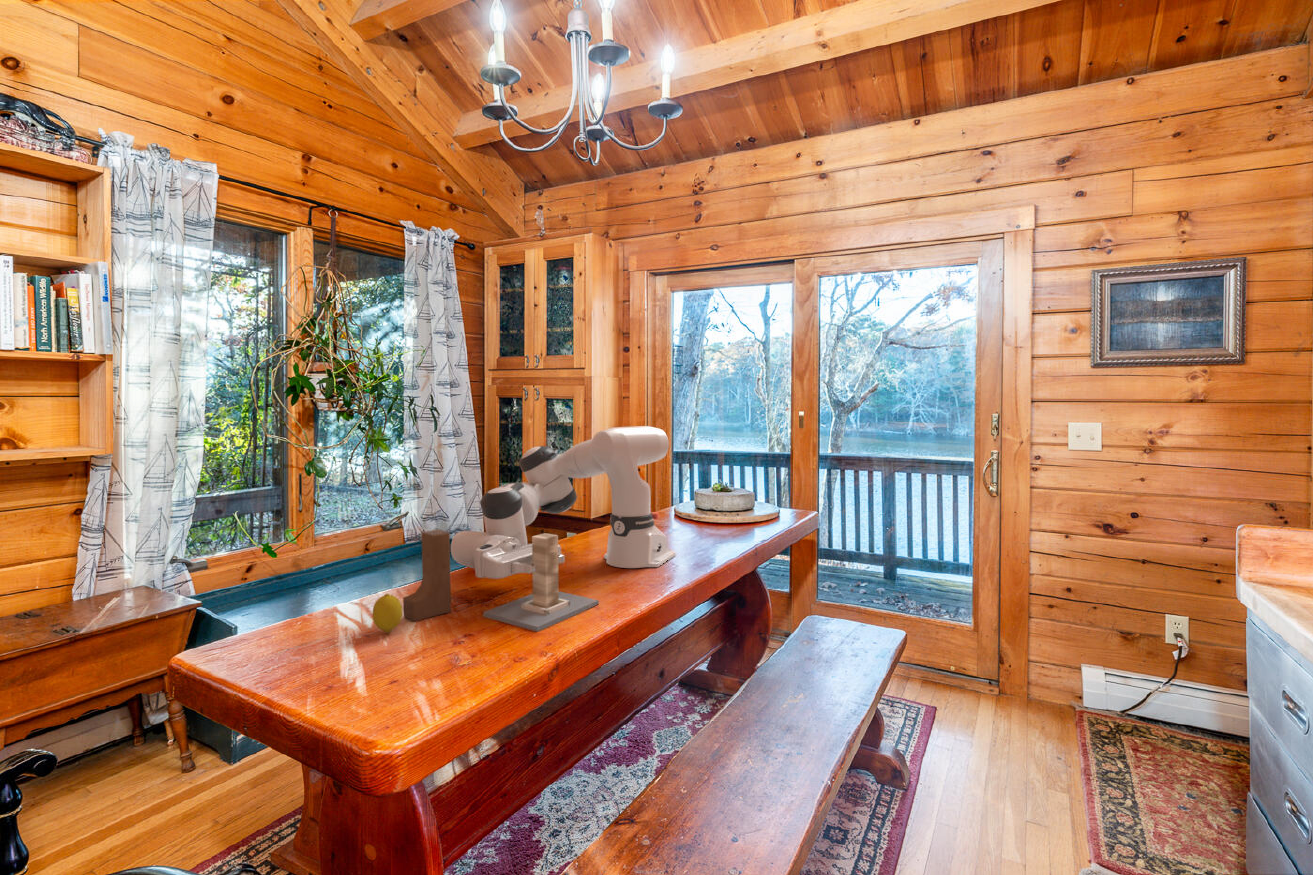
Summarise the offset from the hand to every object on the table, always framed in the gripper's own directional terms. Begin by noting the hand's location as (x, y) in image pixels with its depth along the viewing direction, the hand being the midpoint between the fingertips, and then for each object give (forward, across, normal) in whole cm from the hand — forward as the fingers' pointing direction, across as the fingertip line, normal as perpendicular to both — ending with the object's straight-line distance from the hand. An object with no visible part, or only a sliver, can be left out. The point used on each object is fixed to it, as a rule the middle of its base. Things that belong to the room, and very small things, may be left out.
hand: (548, 564), depth 141 cm
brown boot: (-21, +16, -11) cm, 28 cm away
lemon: (-19, +27, -11) cm, 35 cm away
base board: (-2, 0, -11) cm, 11 cm away
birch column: (-1, 0, -10) cm, 10 cm away
